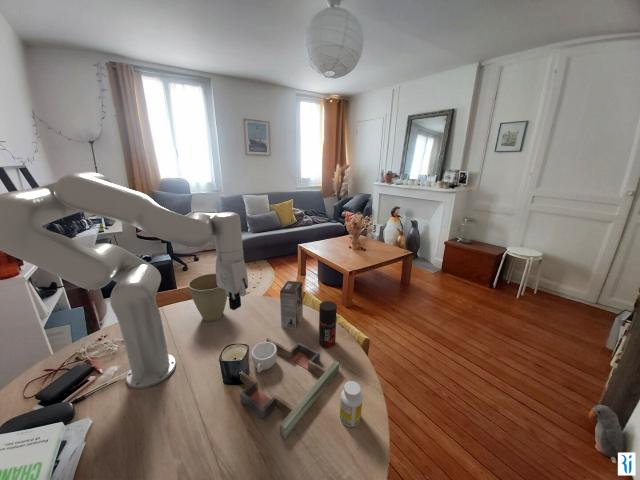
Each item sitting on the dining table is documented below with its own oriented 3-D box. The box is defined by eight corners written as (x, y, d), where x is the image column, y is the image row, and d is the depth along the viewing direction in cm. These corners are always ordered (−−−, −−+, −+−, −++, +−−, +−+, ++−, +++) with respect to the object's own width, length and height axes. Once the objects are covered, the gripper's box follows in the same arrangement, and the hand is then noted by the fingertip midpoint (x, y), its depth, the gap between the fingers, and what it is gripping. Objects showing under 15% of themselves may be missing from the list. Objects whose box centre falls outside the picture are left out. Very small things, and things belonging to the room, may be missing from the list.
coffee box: (288, 314, 107) (287, 280, 102) (303, 316, 106) (302, 281, 101) (280, 327, 99) (279, 290, 94) (296, 330, 97) (296, 292, 93)
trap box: (217, 384, 73) (216, 375, 72) (277, 338, 93) (277, 331, 92) (285, 438, 59) (284, 428, 58) (338, 370, 79) (339, 362, 78)
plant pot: (203, 332, 95) (197, 294, 91) (187, 316, 105) (182, 281, 100) (239, 316, 106) (236, 281, 101) (222, 302, 115) (218, 270, 111)
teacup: (257, 354, 85) (256, 340, 83) (280, 356, 84) (279, 342, 83) (246, 378, 76) (244, 363, 74) (271, 381, 75) (270, 366, 73)
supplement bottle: (341, 428, 62) (343, 398, 59) (337, 408, 67) (339, 379, 64) (363, 426, 62) (366, 396, 59) (358, 406, 67) (360, 377, 64)
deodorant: (321, 349, 88) (322, 311, 83) (316, 338, 93) (317, 302, 89) (337, 346, 89) (339, 309, 85) (332, 335, 95) (333, 300, 90)
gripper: (204, 252, 77) (211, 305, 83) (235, 263, 69) (241, 321, 74) (225, 246, 83) (230, 296, 88) (256, 255, 75) (260, 309, 80)
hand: (235, 307), depth 81 cm, fingers closed
